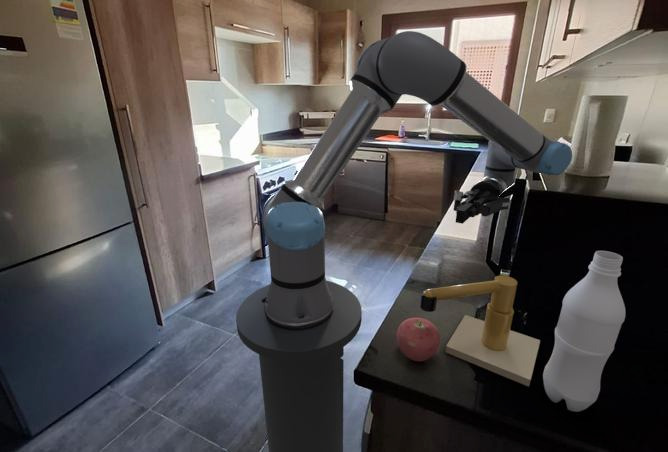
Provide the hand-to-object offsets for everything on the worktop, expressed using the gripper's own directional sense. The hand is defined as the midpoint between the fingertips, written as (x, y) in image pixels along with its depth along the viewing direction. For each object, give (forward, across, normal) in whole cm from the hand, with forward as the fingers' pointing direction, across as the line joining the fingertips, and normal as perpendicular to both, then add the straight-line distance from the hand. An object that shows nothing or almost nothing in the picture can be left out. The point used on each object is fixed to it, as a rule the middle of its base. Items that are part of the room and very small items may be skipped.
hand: (459, 216), depth 70 cm
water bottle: (+14, -24, -22) cm, 35 cm away
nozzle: (+14, -7, -12) cm, 20 cm away
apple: (+19, -1, -22) cm, 29 cm away
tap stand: (+9, -12, -22) cm, 26 cm away
